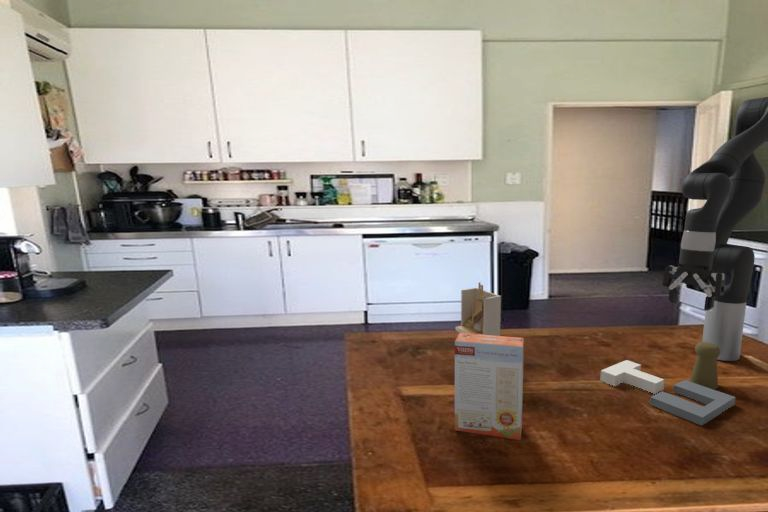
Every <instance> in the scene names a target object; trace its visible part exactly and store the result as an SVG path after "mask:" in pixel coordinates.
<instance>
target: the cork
mask: <svg viewBox="0 0 768 512" xmlns="http://www.w3.org/2000/svg"><path fill="white" fill-rule="evenodd" d="M694 351H695V353H696V358H695V361H694V365H693V367H692V368H693V369H692V372H691V376H690V380H689V381H690V382H693V383H695V384H698V385H701V386H704V387H707V388H710V389H713V390H717V389H718V388H719V383H718V382H719V378H718V375H719V374H718V363H717V362H718V359H717V357H719V355H720V349H719V347H718V346H717V345H715V344H713V343H708V342H702V341H700V342H698V343H697V344H696V345H695V347H694ZM716 388H717V389H716Z"/></svg>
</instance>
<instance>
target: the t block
mask: <svg viewBox="0 0 768 512" xmlns="http://www.w3.org/2000/svg"><path fill="white" fill-rule="evenodd" d="M641 368H642V364H640V363H636V362H634V361H632V360H628V359H626V360H623V361H620V362H617V363H615V364H613V365H611V366H610V365H609V366H608V367H606V368H603V369H601V370H600V377H599V380H600V382H601V383H604V382H605V383H604V384H606V385H609V384H610V386H612V385H613V386H612V387H614V386H615V387H617V386H619V385H621V384H620V383H622V384H626V383H627V384H626V385H628V384H630V385H629V386H631V385H633V386H635V387H634V388H636V387H638V388H641V389H643V390H642V391H644V390H646V391H648V392H647V393H649V392H651V393H653V394H652V395H654V394H655V395H656V393H658V392H659V391H662V390H663V391H664V386H665V379H664V378H661V377H658V376H656V375H652V374H650V373H647V372H644V371H641ZM623 382H624V383H623ZM618 384H619V385H618ZM616 385H617V386H616ZM633 386H632V387H633ZM638 388H637V389H638ZM641 389H640V390H641ZM646 391H645V392H646ZM651 393H650V394H651Z"/></svg>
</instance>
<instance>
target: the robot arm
mask: <svg viewBox="0 0 768 512" xmlns="http://www.w3.org/2000/svg"><path fill="white" fill-rule="evenodd" d="M767 141H768V96H764V97H758V98H751V99H747V100H744V101H743V102H741V104H740V105H739V106H738V109H737V111H736V115H735V120H734V125H733V136H732V138H730V139H729V140H727V141H725V142H724V143H723V144H722V145H720V146H719V147H718V148H717V149H716V151H715V152H714V153H713V155H712V156H711V157H710V158H709V159H708V160H707V161H705V162H704V163H702V164H701V165H699V166H697V168H695V169H693V170H692V171H691V172H689V174H687V175H686V177H685V178H684V180H683V181H682V184H681V193H682V196H684V197H685V198H687V199H689V200H694V201H696V200H698V201H699V200H700V201H701V200H703V201H705V203H704V204H703V206H701V207H698V208H693V209H689V210H688V211H687V212H686V214H685V221H684V229H683V233H682V238H681V242H680V252H679V260H678V266H674V265H666V266H665V270H664V274H663V278H662V279H663V280H662V286H663V287H666V288H668V289H669V293H668V301H669V302H670V304H676V303H677V299H678V292H679V290H678V288H679V287H681V286H682V285H684V284H685V285H691V286H696V287H700V288H701V290H703V292H704V293H705V295H706V296H705V300H704V309H703V310H704V311H705V313H704V323H703V330H702V331H703V332H702V341H701V342H708V343H713V344H715V345H717V346H718V347H719V349H720V355H719V357H717V361H718V360H719V361H724V362H737V361H738V360H740V358H741V357H740V356H741V347H742V339H743V333H744V327H745V318H746V317H745V315H746V308H747V302H748V297H749V296H748V295H749V292H750V289H751V288H750V286H751V280H752V275H753V271H754V267H755V266H754V265H755V253H754V252H755V251H754V250H753V248H751V247H750V246H746V245H739V244H738V245H737V244H728V242H729V239H730V236H731V234H732V232H733V230H734V229H736V227H737V226H738V224H740V222H742V221H743V220H744V219H745V218H746V217H747V216H748V215H749V214H750V213H752V212H753V210H755V208H756V207H757V206H758V205H759V204H760V202H761V201H762V197H763V193H764V187H765V184H766V174H765V171H764V169H763V167H762V165H761V163H760V162H759V161H758V159H757V157H756V154H755V151H756V150H757V149H758V148H760V147H761V146H762V145H763V144H764V143H766V142H767ZM675 273H677V275H678V277H677V278H676V279H675V280H674V281H673V276H674V274H675ZM726 277H727V278H731V279H730V282H729V283H728V284H726ZM711 278H713V280H714V282H715V284H714V285H715V286H713V285H712V283H711V282H710V279H711Z"/></svg>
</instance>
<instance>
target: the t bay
mask: <svg viewBox="0 0 768 512" xmlns="http://www.w3.org/2000/svg"><path fill="white" fill-rule="evenodd" d="M673 392H675V393H674V394H676V393H677V394H676V395H679V394H680V396H681V395H683V396H682V397H684V396H686V397H685V398H687V397H688V398H687V399H689V398H691V399H690V400H692V399H694V400H693V401H695V400H696V401H695V402H698V401H699V402H698V403H700V402H701V404H704V406H703V405H700V404H697V403H695V402H692V401H689V400H686V399H684V398H682V397H679V396H676V395H674V394H672V393H668V392H666V391H664V390H663V391H661V392H659V393H657V394H655V395H654V394H653V395H651V396H650V400H649V405H650V406H652V407H654V406H655V407H654V408H656V407H657V409H659V410H661V409H662V411H664V412H667V413H669V414H671V415H673V416H677V417H679V418H682V419H684V420H686V421H689V422H691V423H694V424H696V425H699V426H701V427H702V426H704V425H705V424H707V423H708V422H710V421H712V420H714V419H715V418H716V417H718V416H719V415H721V414H722V412H723V413H724V412H725V410H726V411H728V408H729V409H730V408H731V407H734V406H735V402H736V396H733V395H731V394H727V393H725V392H721V391H719V390H717V389H710V388H707V387H704V386H701V385H698V384H695V383H693V382H690V380H687V379H683V380H682V381H679V382H677V383H676V384H674V385H673Z"/></svg>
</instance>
